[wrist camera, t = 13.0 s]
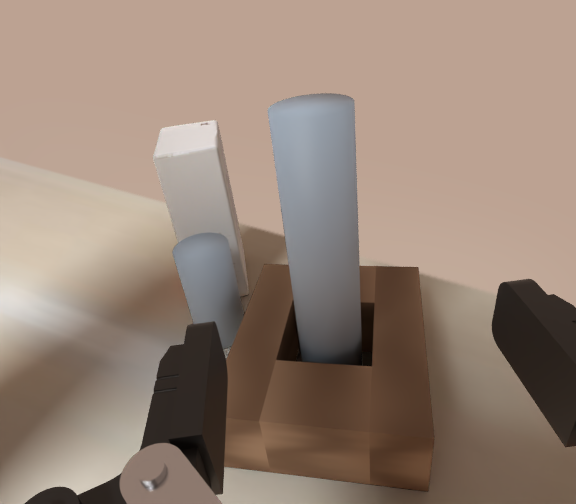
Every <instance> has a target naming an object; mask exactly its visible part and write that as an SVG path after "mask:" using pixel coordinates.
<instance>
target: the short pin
mask: <svg viewBox="0 0 576 504" xmlns="http://www.w3.org/2000/svg"><path fill="white" fill-rule="evenodd" d="M173 257H174V260H175V264H176V267H177V270H178V273H179V277H180V280H181V283H182V287H183V290H184V293H185V297H186V300H187V303H188V307H189V310H190V313H191V317H192V320H193V323H194V324H198V323H205V322H212V321H215V323H216V325H217V328H218V332H219V336H220V340H221V344H222V347H223V349H225V348H229V347H231V346H232V344H233V342H234V339H235V337H236V334H237V332H238V329H239V327H240V324H241V322H242V319H243V317H244V312H243V308H242V303H241V298H240V294H239V289H238V284H237V280H236V275H235V270H234V266H233V261H232V257H231V252H230V247H229V243H228V239H227V238H226V237H225V236H224V235H221V234H218V233H200V234H196V235H192V236H189V237H187V238H185V239H183V240H182V241H180V242H179V243H178V244H177V245H176V246H175V247H174V249H173Z"/></svg>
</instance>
